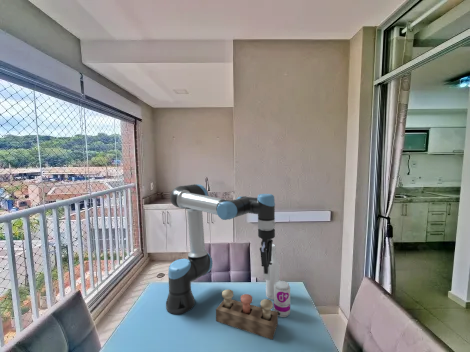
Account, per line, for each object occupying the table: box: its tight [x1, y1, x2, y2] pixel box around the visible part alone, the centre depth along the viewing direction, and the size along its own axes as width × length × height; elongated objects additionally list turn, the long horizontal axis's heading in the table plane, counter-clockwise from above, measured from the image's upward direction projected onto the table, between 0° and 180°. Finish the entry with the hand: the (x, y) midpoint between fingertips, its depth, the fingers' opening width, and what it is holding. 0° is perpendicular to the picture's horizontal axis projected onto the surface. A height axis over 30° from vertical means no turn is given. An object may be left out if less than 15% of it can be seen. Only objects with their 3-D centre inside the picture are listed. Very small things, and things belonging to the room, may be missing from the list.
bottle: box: [265, 243, 280, 301], centre depth 125 cm, size 8×8×30 cm
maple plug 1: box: [221, 289, 234, 309], centre depth 109 cm, size 6×6×7 cm
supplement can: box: [273, 280, 291, 318], centre depth 112 cm, size 8×8×15 cm
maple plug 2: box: [260, 298, 274, 320], centre depth 100 cm, size 6×6×7 cm
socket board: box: [215, 298, 279, 340], centre depth 105 cm, size 28×10×6 cm, turn 66°
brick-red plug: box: [240, 293, 253, 314], centre depth 105 cm, size 6×6×7 cm
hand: (266, 279), depth 99 cm, fingers closed
